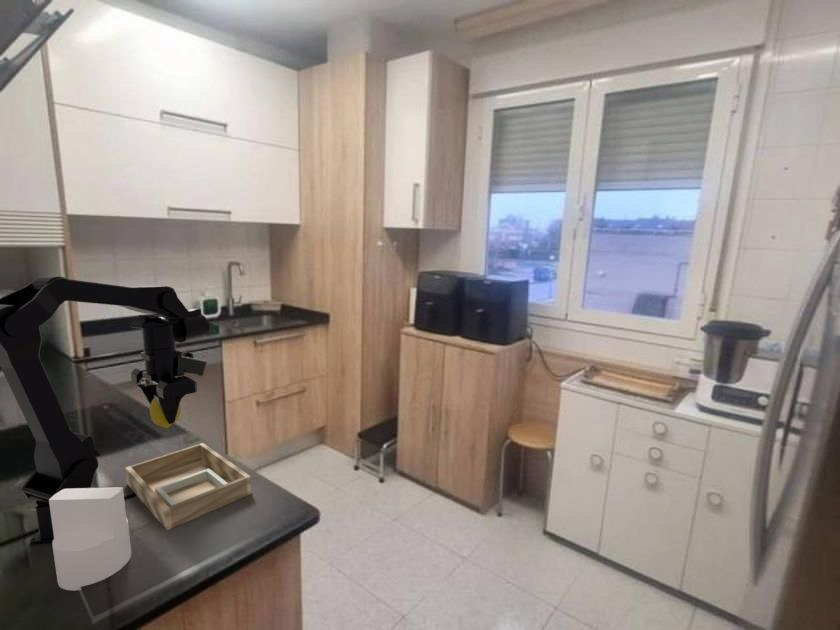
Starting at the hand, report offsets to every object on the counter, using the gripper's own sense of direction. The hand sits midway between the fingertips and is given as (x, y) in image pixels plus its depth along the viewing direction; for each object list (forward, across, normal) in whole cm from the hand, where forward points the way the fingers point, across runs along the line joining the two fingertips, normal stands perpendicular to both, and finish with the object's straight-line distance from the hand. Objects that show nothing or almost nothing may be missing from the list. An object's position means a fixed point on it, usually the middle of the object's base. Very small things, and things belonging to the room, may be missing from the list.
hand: (165, 419), depth 92 cm
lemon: (+2, 0, 0) cm, 2 cm away
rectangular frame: (+11, -13, +1) cm, 18 cm away
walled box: (+12, -10, +1) cm, 16 cm away
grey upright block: (+12, -22, +18) cm, 31 cm away
